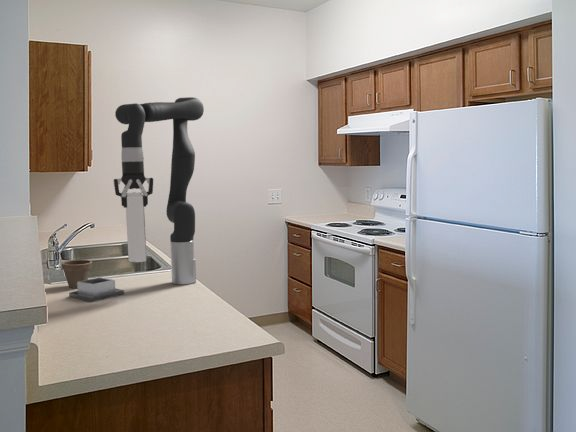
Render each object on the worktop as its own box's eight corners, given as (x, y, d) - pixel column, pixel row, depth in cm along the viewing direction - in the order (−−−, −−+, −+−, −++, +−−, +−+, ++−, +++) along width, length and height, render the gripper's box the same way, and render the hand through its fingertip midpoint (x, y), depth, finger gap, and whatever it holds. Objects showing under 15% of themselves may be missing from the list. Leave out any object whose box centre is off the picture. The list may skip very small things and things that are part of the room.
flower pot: (99, 284, 220) (98, 259, 219) (80, 290, 209) (79, 265, 208) (75, 282, 224) (74, 258, 223) (56, 289, 213) (55, 263, 212)
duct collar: (102, 289, 211) (101, 275, 210) (124, 294, 203) (123, 279, 202) (69, 296, 200) (68, 282, 199) (90, 302, 191) (90, 286, 191)
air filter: (141, 262, 192) (138, 192, 190) (124, 262, 194) (121, 192, 191) (149, 259, 199) (146, 191, 196) (133, 258, 200) (130, 191, 197)
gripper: (151, 160, 199) (153, 205, 200) (110, 161, 193) (113, 207, 195) (154, 160, 192) (156, 206, 193) (112, 160, 186) (115, 208, 188)
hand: (134, 206), depth 194 cm, fingers closed on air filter, 6 cm apart
